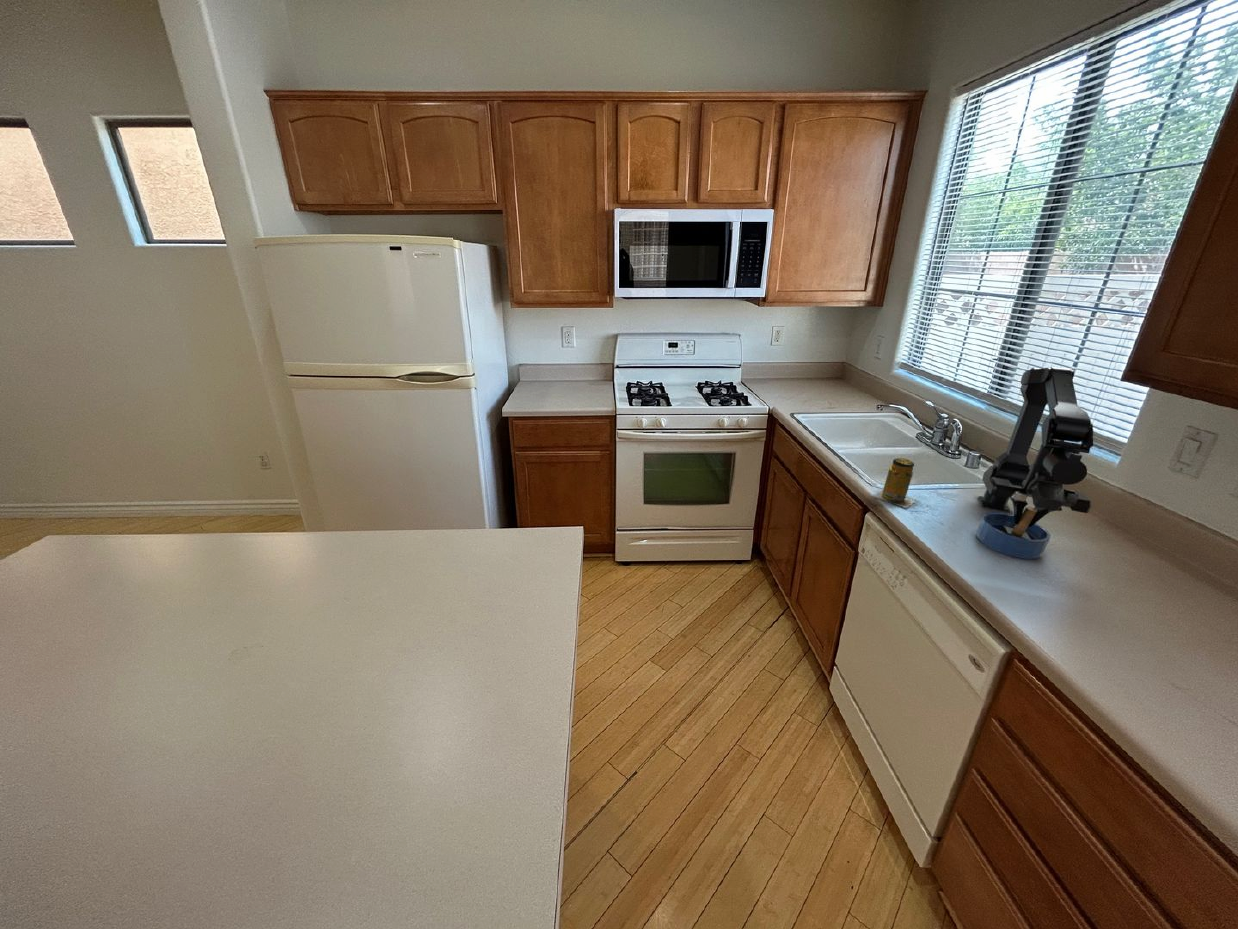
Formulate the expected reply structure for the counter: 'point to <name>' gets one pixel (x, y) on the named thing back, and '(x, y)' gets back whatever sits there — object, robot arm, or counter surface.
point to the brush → (1021, 524)
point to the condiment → (898, 483)
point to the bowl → (1010, 544)
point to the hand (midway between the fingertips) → (1022, 525)
